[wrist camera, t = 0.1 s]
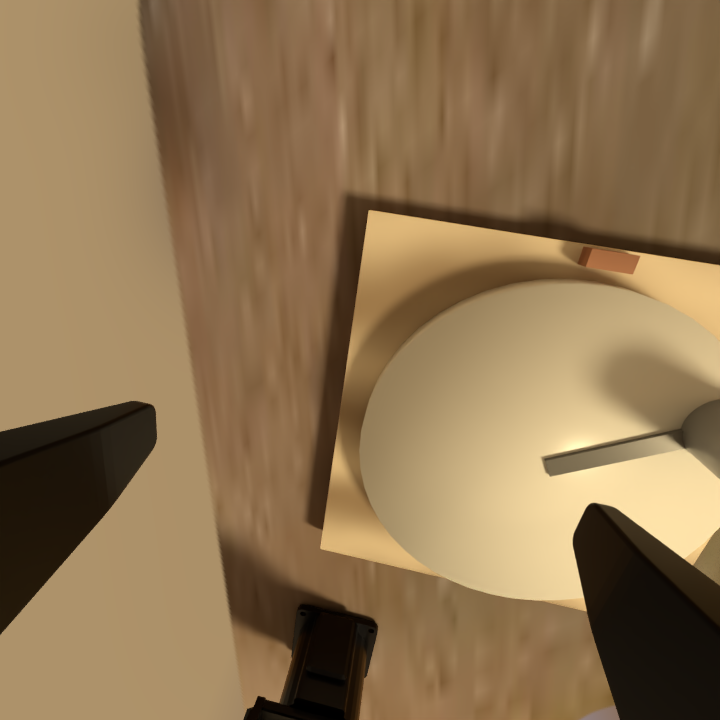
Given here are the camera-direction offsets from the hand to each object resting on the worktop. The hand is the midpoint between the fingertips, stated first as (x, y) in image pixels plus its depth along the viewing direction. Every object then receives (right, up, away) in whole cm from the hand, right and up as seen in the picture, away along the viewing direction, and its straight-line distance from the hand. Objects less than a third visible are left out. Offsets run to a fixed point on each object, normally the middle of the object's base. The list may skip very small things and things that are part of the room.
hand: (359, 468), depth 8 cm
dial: (+10, -3, +14) cm, 17 cm away
